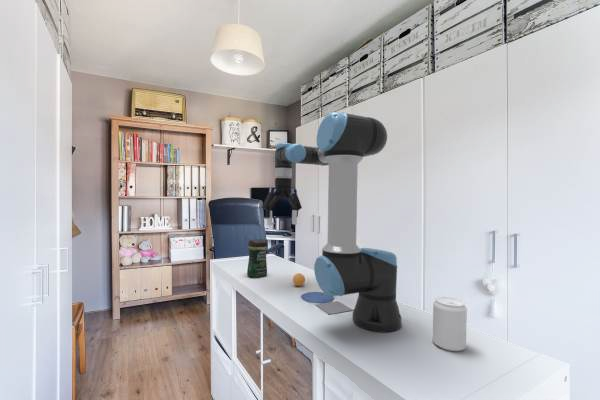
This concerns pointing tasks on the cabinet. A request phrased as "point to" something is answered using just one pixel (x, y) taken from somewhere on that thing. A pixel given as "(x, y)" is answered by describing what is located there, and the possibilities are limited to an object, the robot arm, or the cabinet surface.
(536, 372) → the cabinet surface
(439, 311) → the beverage can
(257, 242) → the coffee jar
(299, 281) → the ball
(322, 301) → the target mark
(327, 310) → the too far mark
